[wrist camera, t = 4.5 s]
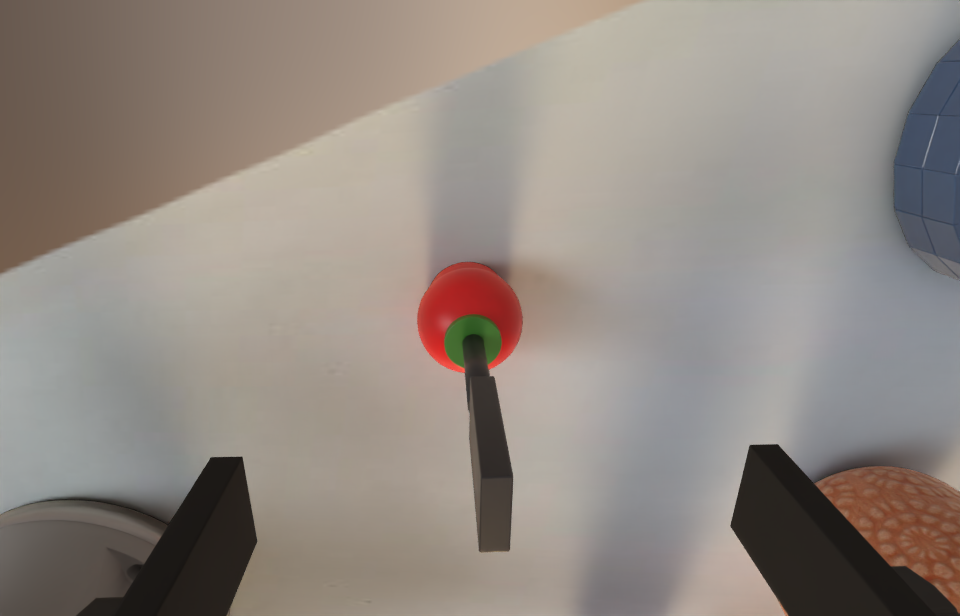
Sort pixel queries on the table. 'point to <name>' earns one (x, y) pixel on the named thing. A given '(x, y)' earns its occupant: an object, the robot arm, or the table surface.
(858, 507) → the planter
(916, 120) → the dish
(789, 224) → the table surface
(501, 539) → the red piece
